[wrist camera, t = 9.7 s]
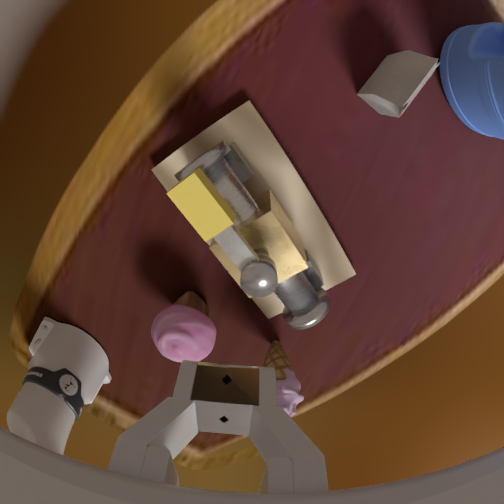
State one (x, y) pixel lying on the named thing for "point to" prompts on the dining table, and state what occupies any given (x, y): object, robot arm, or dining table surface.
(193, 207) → the lever
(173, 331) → the cupcake
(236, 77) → the dining table surface
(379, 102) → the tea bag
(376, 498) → the robot arm
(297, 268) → the valve assembly
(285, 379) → the ice cream cone
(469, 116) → the water jug
